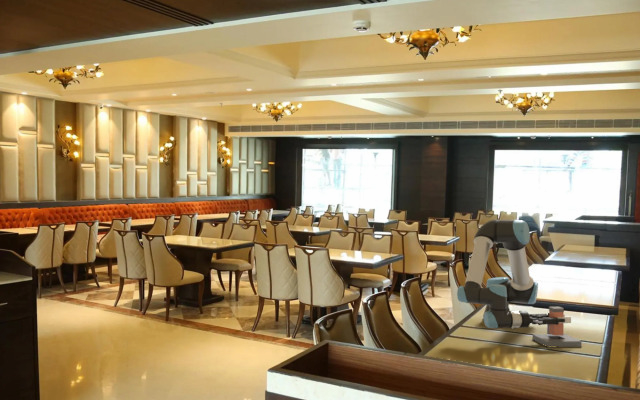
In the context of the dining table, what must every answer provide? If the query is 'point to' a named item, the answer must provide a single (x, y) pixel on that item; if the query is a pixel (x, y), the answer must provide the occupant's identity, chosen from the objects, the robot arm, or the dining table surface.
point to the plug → (555, 328)
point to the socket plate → (557, 340)
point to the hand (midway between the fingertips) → (567, 318)
